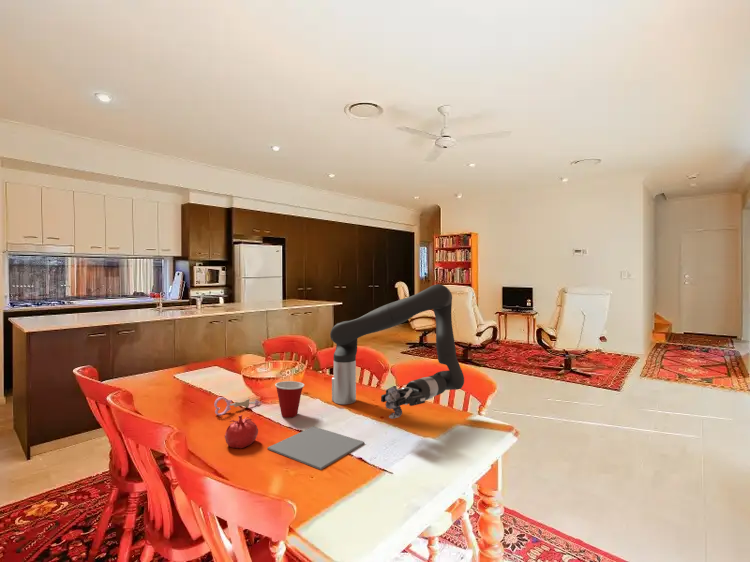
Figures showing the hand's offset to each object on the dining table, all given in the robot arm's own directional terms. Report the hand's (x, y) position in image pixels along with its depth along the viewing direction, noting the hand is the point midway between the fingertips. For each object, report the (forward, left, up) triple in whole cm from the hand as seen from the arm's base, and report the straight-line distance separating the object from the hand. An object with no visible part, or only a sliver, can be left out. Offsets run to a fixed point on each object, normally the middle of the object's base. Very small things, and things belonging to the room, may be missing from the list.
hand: (388, 401), depth 125 cm
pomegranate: (-38, -26, -14) cm, 48 cm away
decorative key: (-65, -8, -14) cm, 67 cm away
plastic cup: (-44, 0, -14) cm, 46 cm away
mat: (-17, -14, -13) cm, 26 cm away
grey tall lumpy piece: (0, +3, -6) cm, 7 cm away
